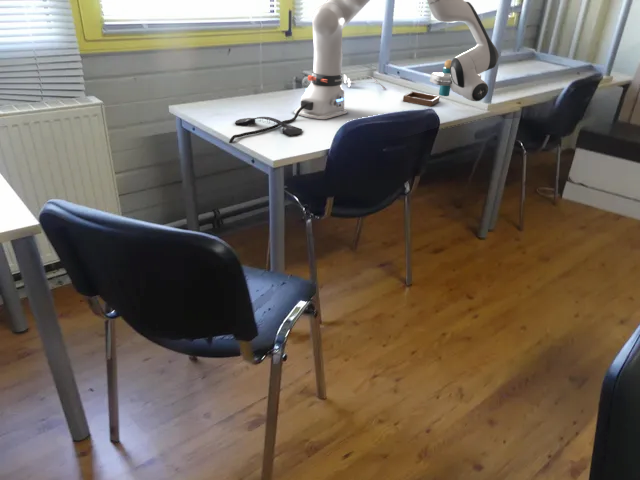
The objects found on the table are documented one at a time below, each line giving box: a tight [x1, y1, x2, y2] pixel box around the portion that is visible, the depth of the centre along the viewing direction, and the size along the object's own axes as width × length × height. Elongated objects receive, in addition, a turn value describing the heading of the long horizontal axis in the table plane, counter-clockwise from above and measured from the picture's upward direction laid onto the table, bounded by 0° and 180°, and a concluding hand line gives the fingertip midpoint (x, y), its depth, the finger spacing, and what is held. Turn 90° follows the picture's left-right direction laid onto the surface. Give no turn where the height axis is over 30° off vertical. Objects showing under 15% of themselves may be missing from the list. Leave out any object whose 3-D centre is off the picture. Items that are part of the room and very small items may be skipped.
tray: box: [402, 91, 441, 107], centre depth 246 cm, size 11×13×2 cm
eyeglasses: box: [343, 74, 387, 90], centre depth 264 cm, size 15×18×4 cm
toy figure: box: [438, 59, 453, 97], centre depth 231 cm, size 4×4×14 cm
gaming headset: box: [234, 116, 303, 137], centre depth 192 cm, size 9×25×3 cm, turn 67°
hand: (446, 75), depth 231 cm, fingers closed on toy figure, 4 cm apart
